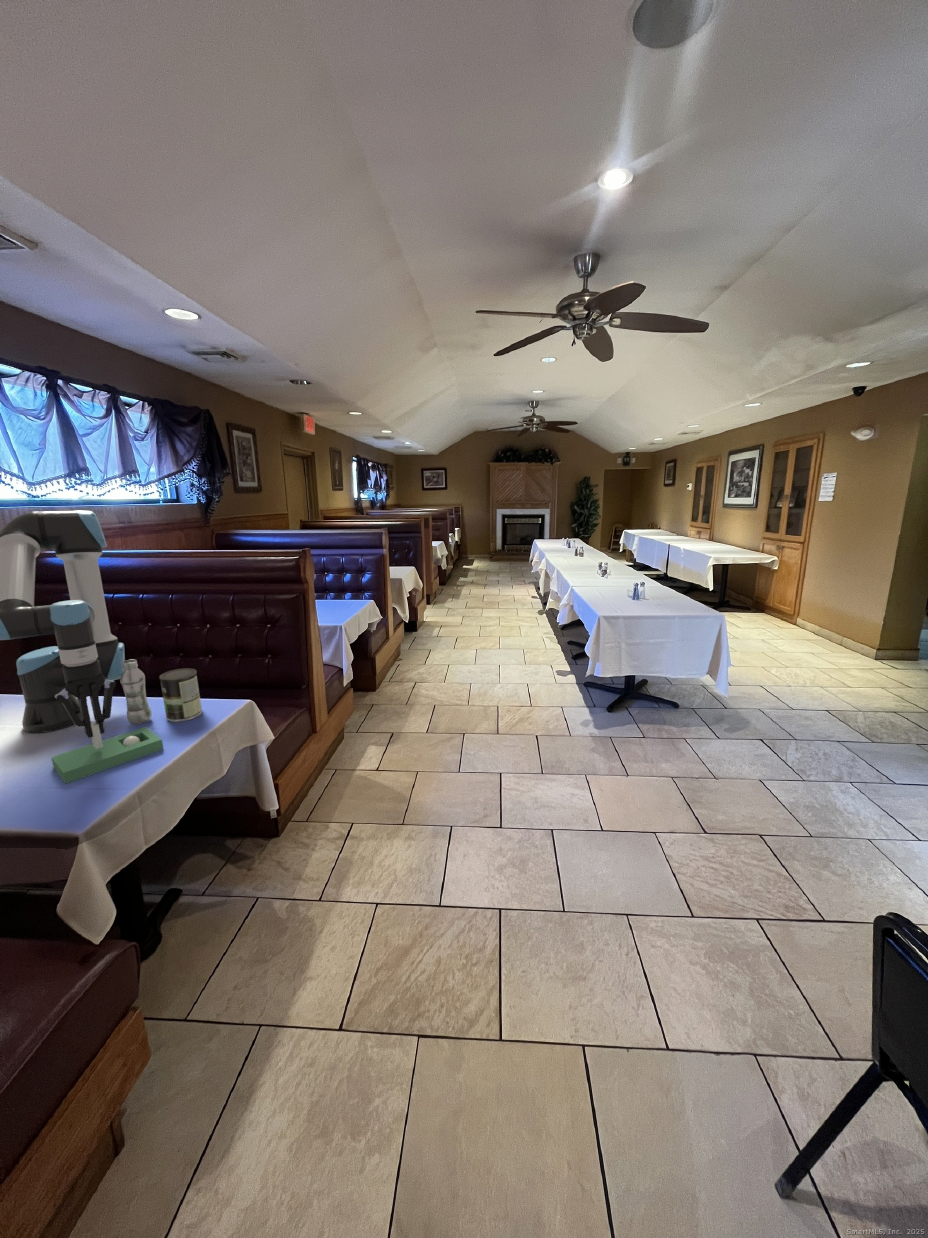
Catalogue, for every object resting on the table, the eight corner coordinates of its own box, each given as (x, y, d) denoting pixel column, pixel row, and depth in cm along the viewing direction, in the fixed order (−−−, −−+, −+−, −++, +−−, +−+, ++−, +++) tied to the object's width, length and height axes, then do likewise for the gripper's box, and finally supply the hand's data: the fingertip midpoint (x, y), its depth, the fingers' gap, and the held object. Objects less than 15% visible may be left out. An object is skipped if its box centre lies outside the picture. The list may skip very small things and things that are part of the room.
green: (53, 767, 129) (51, 757, 129) (147, 736, 146) (146, 726, 145) (65, 784, 122) (63, 773, 121) (163, 749, 138) (161, 739, 137)
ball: (130, 750, 139) (117, 745, 136) (140, 737, 140) (126, 732, 138) (136, 754, 136) (122, 749, 134) (145, 741, 138) (132, 735, 135)
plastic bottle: (127, 729, 150) (115, 666, 145) (129, 720, 156) (117, 660, 151) (152, 724, 153) (141, 662, 148) (153, 715, 159) (142, 656, 154)
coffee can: (165, 724, 153) (158, 682, 149) (166, 712, 162) (159, 671, 158) (203, 717, 158) (197, 675, 154) (202, 705, 166) (196, 666, 163)
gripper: (52, 672, 118) (72, 761, 124) (115, 658, 128) (131, 741, 134) (43, 665, 123) (63, 751, 128) (105, 652, 132) (121, 733, 138)
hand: (98, 746), depth 131 cm, fingers closed
